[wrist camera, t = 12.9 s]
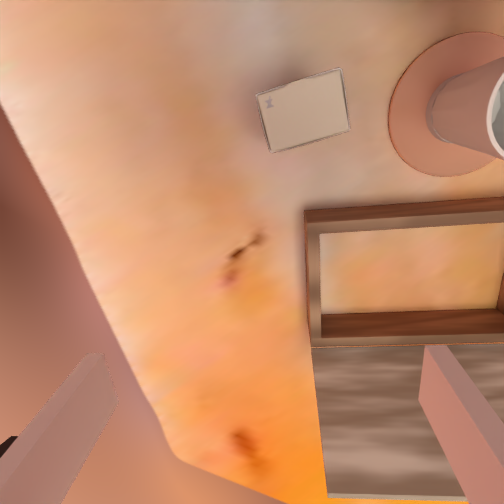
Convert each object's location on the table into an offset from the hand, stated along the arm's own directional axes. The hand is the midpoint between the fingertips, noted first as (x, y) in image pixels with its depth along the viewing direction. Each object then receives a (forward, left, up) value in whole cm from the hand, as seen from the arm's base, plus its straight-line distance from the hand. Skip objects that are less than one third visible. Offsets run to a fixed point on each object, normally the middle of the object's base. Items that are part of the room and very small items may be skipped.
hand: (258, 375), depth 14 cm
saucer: (-9, +19, -27) cm, 34 cm away
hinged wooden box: (+10, +16, -27) cm, 33 cm away
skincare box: (-10, +3, -27) cm, 29 cm away
